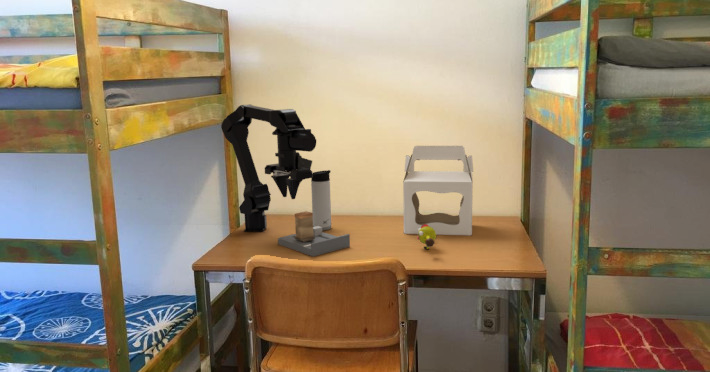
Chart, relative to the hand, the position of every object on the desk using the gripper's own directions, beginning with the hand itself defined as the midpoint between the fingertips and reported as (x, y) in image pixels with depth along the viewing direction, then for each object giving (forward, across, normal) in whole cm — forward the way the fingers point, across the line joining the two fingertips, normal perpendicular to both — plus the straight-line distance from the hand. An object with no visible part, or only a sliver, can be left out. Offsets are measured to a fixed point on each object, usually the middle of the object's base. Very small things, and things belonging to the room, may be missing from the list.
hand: (289, 198), depth 190 cm
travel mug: (+13, +1, -14) cm, 19 cm away
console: (+13, -12, 0) cm, 18 cm away
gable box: (+13, -28, -40) cm, 51 cm away
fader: (+11, -12, +3) cm, 16 cm away
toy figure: (+13, -40, -21) cm, 47 cm away
